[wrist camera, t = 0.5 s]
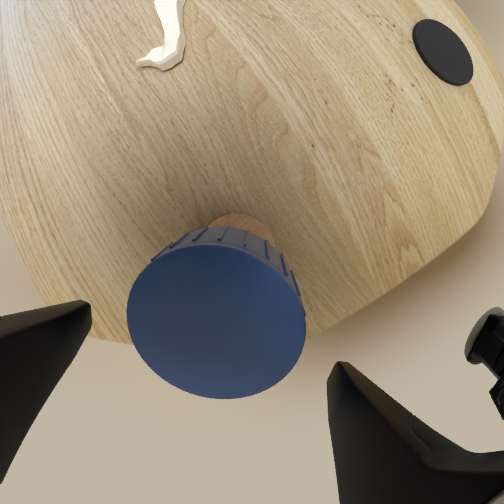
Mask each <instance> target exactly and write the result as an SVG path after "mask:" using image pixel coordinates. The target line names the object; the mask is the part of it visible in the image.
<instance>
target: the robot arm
mask: <svg viewBox="0 0 504 504" xmlns="http://www.w3.org/2000/svg"><path fill="white" fill-rule="evenodd" d="M91 326H92V316H91V305H90V304H89V303H88V302H85V301H83V300H77V301H72V302H67V303H63V304H58V305H53V306H48V307H44V308H39V309H34V310H29V311H24V312H20V313H15V314H10V315H5V316H3V317H2V316H0V484H1V483H2V481H3V480H4V477H5V475H6V473H7V471H8V469H9V467H10V465H11V463H12V461H13V459H14V457H15V455H16V453H17V451H18V449H19V447H20V445H21V444H22V441H23V440H24V438H25V436H26V434H27V432H28V430H29V429H30V427H31V425H32V424H33V422H34V420H35V419H36V417H37V415H38V413H39V412H40V410H41V409H42V407H43V405H44V404H45V402H46V400H47V399H48V397H49V396H50V394H51V393H52V391H53V389H54V388H55V386H56V385H57V383H58V382H59V380H60V379H61V377H62V376H63V374H64V373H65V371H66V370H67V368H68V367H69V365H70V364H71V362H72V361H73V359H74V358H75V356H76V354H77V352H78V351H79V349H80V347H81V345H82V343H83V341H84V339H85V338H86V336H87V334H88V333H89V331H90V329H91ZM466 359H467V361H468V362H482V363H483V364H484V365H485V366H486V367H487V368H489V370H490V371H491V372H492V373H493V374H494V375H495V377H497V379H498V381H497V382H496V384H495V385H494V387H493V388H491V390H490V391H489V393H490V395H491V398H492V399H493V401H494V403H495V405H496V407H497V409H498V411H499V413H500V415H501V418H502V419H503V420H504V317H503V316H498V315H493V314H490V315H489V316H488V317H487V319H486V322H485V324H484V326H483V328H482V330H481V332H480V334H479V336H478V338H477V340H476V342H475V343H474V345H473V347H472V349H471V351H470V353H469V354H468V356H467V358H466ZM327 400H328V420H329V427H330V434H331V440H332V447H333V454H334V461H335V469H336V475H337V484H338V493H339V501H340V504H504V451H496V452H487V453H474V452H470V451H467V450H465V449H463V448H462V447H460V446H458V445H457V444H455V443H454V442H452V441H450V440H449V439H447V438H445V437H444V436H442V435H441V434H439V433H438V432H436V431H435V430H433V429H432V428H430V427H429V426H428V425H426V424H425V423H424V422H422V421H421V420H420V419H418V418H417V417H416V416H415V415H413V414H412V413H411V412H409V411H408V410H407V409H405V408H404V407H403V406H402V405H401V404H399V403H398V402H397V401H395V400H394V399H393V398H392V397H390V396H389V395H388V394H387V393H385V392H384V391H383V390H382V389H381V388H379V387H378V386H377V385H376V384H374V383H373V382H372V381H371V380H369V379H368V378H367V377H366V376H364V375H363V374H362V373H361V372H360V371H358V370H357V369H356V368H355V367H353V366H352V365H351V364H350V363H348V362H342V361H338V362H336V364H335V365H334V367H333V369H332V371H331V373H330V375H329V377H328V380H327Z"/></svg>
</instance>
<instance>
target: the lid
mask: <svg viewBox="0 0 504 504" xmlns="http://www.w3.org/2000/svg"><path fill="white" fill-rule="evenodd" d="M151 261H152V262H151V263H150V264H149V265H147V266H146V268H145V269H144V270H143V271H142V272H141V273H140V274H139V276H138V277H137V279H136V281H135V282H134V284H133V286H132V289H131V291H130V294H129V298H128V303H127V324H128V329H129V333H130V336H131V339H132V341H133V343H134V346H135V348H136V350H137V351H138V353H139V354H140V356H141V357H142V359H143V360H144V361H145V362H146V364H147V365H148V366H149V367H150V368H151V369H152V370H153V371H154V372H155V373H156V374H157V375H159V376H160V377H161V378H162V379H164V380H165V381H167V382H168V383H170V384H171V385H173V386H176V387H177V388H179V389H181V390H183V391H186V392H188V393H191V394H195V395H198V396H202V397H207V398H215V399H234V398H242V397H246V396H251V395H254V394H257V393H260V392H262V391H264V390H267V389H269V388H270V387H272V386H274V385H275V384H277V383H278V382H279V381H281V380H282V379H283V378H284V377H285V376H286V375H287V374H288V373H289V372H290V371H291V370H292V368H293V367H294V365H295V364H296V362H297V361H298V359H299V357H300V355H301V353H302V349H303V346H304V342H305V336H306V322H305V316H306V315H305V311H304V308H303V304H302V301H301V298H300V292H299V288H298V285H297V282H296V279H295V276H294V273H293V270H290V268H289V266H288V264H287V262H286V261H285V260H284V256H283V254H282V253H281V254H280V253H279V252H278V251H277V250H276V249H275V248H274V247H273V246H272V245H271V244H270V243H269V242H268V240H267V239H266V240H264V239H263V238H261V237H259V236H258V235H256V234H253V233H251V232H250V230H247V231H246V230H243V229H240V228H235V227H229V225H226V226H214V227H208V226H205V227H204V228H202V229H198V230H196V231H193V232H191V233H189V232H187V233H185V234H184V235H183V236H182V237H181V238H179V239H178V240H177V241H176V242H174V243H173V242H172V243H171V244H169V245H168V246H167V247H166V248H164V249H163V250H162V251H161V252H160V253H158V254H157V255H156V256H155V257H153V258H152V259H151Z"/></svg>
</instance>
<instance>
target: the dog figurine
mask: <svg viewBox="0 0 504 504" xmlns="http://www.w3.org/2000/svg"><path fill="white" fill-rule="evenodd" d="M154 1H155V7H156V10H157V13H158V15H159V18H160V20H161V22H162V26H163V29H164V32H165V40H164V45H163V46H160V47H156V48H153V49H152V50H151V51H150V52H149V54H148V55H147V56H146V57H144V58H142V59H138V60H137V61H136V62H135V66H153V67H157V68H159V69H161V70H162V71H163V70H167V69H170V68H171V67H173V66H174V65H176V64H177V63H179V62H180V61H181V60H182V58H183V51H184V48H185V46H186V39H185V33H184V28H183V19H182V14H183V6H184V4H185V1H186V0H154Z"/></svg>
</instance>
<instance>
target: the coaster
mask: <svg viewBox="0 0 504 504" xmlns="http://www.w3.org/2000/svg"><path fill="white" fill-rule="evenodd" d="M413 39H414V43H415V46H416V48H417V51H418V53H419V54H420V56H421V58H422V59H423V61H424V62H425V63H426V65H427V66H428V67H429V68H430V69H431V70H432V71H433V72H434V73H435V74H436V75H437V76H438V77H439V78H441V79H442V80H444V81H445V82H447V83H449V84H452V85H456V86H461V85H464V84H467V83H468V82H469V81H470V80H471V79H472V76H473V64H472V60H471V57H470V54H469V52H468V50H467V48H466V47H465V45H464V43H463V42H462V41H461V39H460V38H459V37H458V36H457V35H456V34H455V33H454V32H453V31H452V30H451V29H450V28H448V27H447V26H445V25H444V24H442V23H440V22H438V21H435V20H431V19H424V20H421V21H420V22H418V23H417V24H416V25H415V27H414V30H413Z"/></svg>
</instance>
